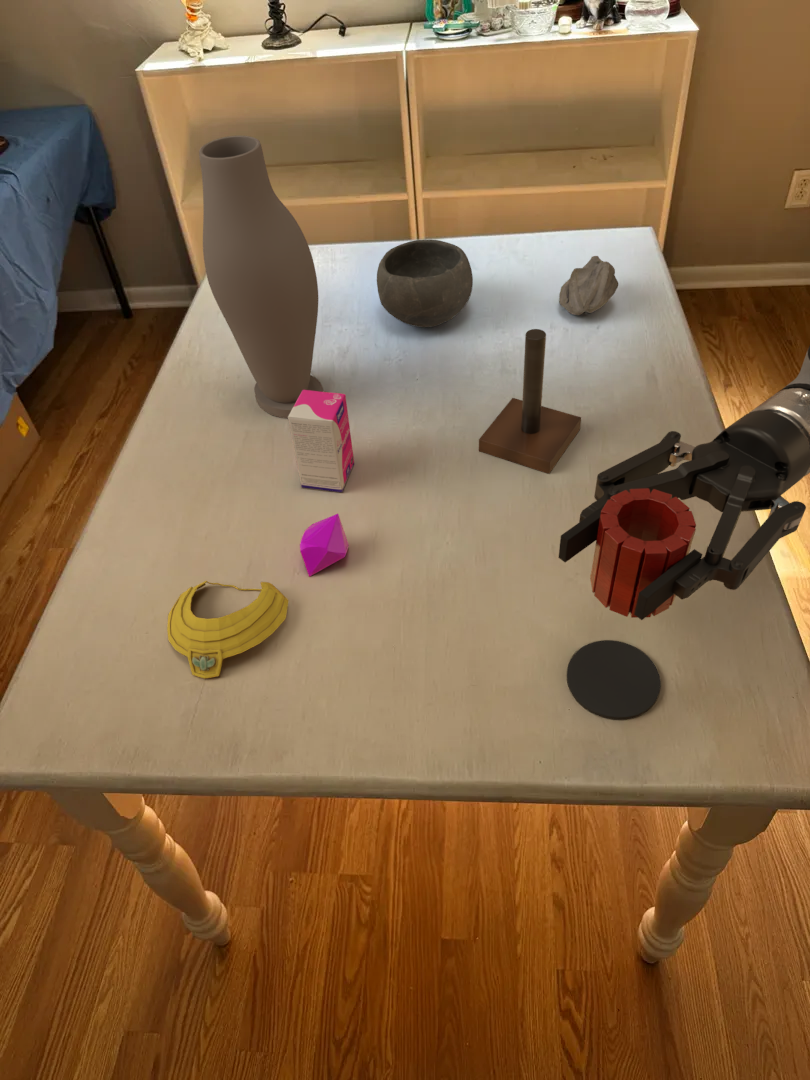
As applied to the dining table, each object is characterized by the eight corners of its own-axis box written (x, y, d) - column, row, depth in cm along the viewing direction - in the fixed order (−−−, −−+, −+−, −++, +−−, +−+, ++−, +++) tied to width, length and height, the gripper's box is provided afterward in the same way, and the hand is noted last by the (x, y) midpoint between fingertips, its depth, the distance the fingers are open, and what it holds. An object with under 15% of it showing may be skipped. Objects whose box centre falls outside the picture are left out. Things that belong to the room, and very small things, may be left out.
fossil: (555, 290, 129) (559, 243, 124) (611, 288, 128) (617, 241, 123) (560, 326, 122) (564, 279, 116) (619, 325, 121) (626, 277, 115)
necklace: (149, 615, 88) (138, 591, 84) (247, 560, 92) (239, 535, 89) (202, 689, 80) (191, 666, 77) (304, 625, 85) (298, 600, 82)
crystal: (304, 544, 93) (297, 517, 90) (349, 539, 94) (344, 511, 90) (304, 577, 90) (298, 550, 86) (351, 571, 90) (346, 544, 87)
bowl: (459, 346, 120) (457, 286, 113) (368, 336, 124) (361, 277, 117) (482, 297, 129) (482, 239, 122) (397, 289, 133) (392, 232, 126)
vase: (349, 384, 115) (312, 131, 90) (302, 436, 108) (247, 176, 82) (275, 365, 120) (219, 120, 95) (225, 414, 112) (150, 162, 87)
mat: (672, 664, 78) (673, 661, 78) (641, 735, 73) (642, 732, 73) (587, 630, 82) (587, 627, 82) (551, 695, 77) (552, 692, 76)
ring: (687, 571, 68) (707, 505, 62) (659, 630, 64) (678, 565, 58) (609, 543, 70) (620, 477, 65) (577, 598, 67) (587, 533, 61)
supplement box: (344, 493, 99) (331, 421, 91) (300, 488, 100) (284, 417, 92) (357, 463, 103) (345, 391, 95) (314, 459, 104) (299, 388, 96)
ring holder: (580, 429, 104) (592, 322, 93) (549, 474, 99) (557, 366, 87) (512, 409, 108) (515, 304, 97) (478, 451, 103) (478, 345, 91)
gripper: (689, 364, 73) (511, 478, 64) (900, 469, 62) (720, 625, 53) (674, 427, 79) (509, 540, 70) (866, 534, 67) (697, 685, 59)
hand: (600, 576), depth 62 cm, fingers closed on ring, 7 cm apart
